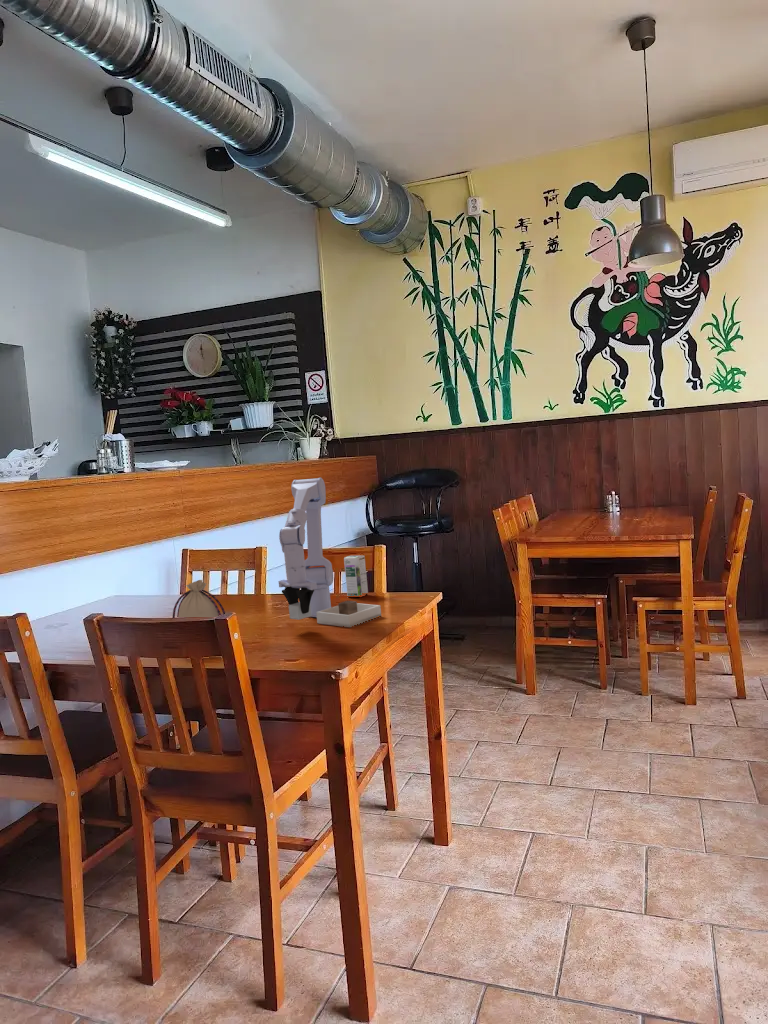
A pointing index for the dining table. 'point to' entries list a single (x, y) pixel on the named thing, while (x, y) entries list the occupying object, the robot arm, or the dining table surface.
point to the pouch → (197, 602)
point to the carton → (298, 611)
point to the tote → (334, 618)
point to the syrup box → (355, 575)
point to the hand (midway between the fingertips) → (300, 612)
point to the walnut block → (347, 607)
